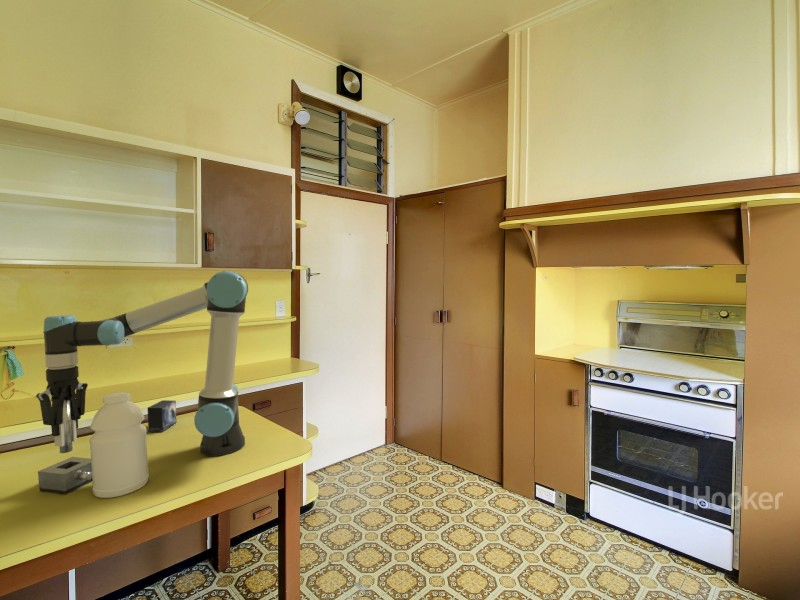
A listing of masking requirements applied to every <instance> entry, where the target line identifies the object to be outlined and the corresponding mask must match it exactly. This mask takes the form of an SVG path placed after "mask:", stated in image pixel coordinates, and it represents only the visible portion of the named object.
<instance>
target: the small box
mask: <svg viewBox="0 0 800 600" xmlns="http://www.w3.org/2000/svg"><path fill="white" fill-rule="evenodd" d="M176 423H178V422H177V401H176V400H167V399H166V400H160V401H159V402H157V403H154V404H152V405H150V406H148V407H147V430H148V431H147V432H148V433H163V432H165V431H167V430H168V429H170V428H171V426H172V427H173V426H175V425H176ZM174 424H175V425H174ZM166 429H167V430H166Z"/></svg>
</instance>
